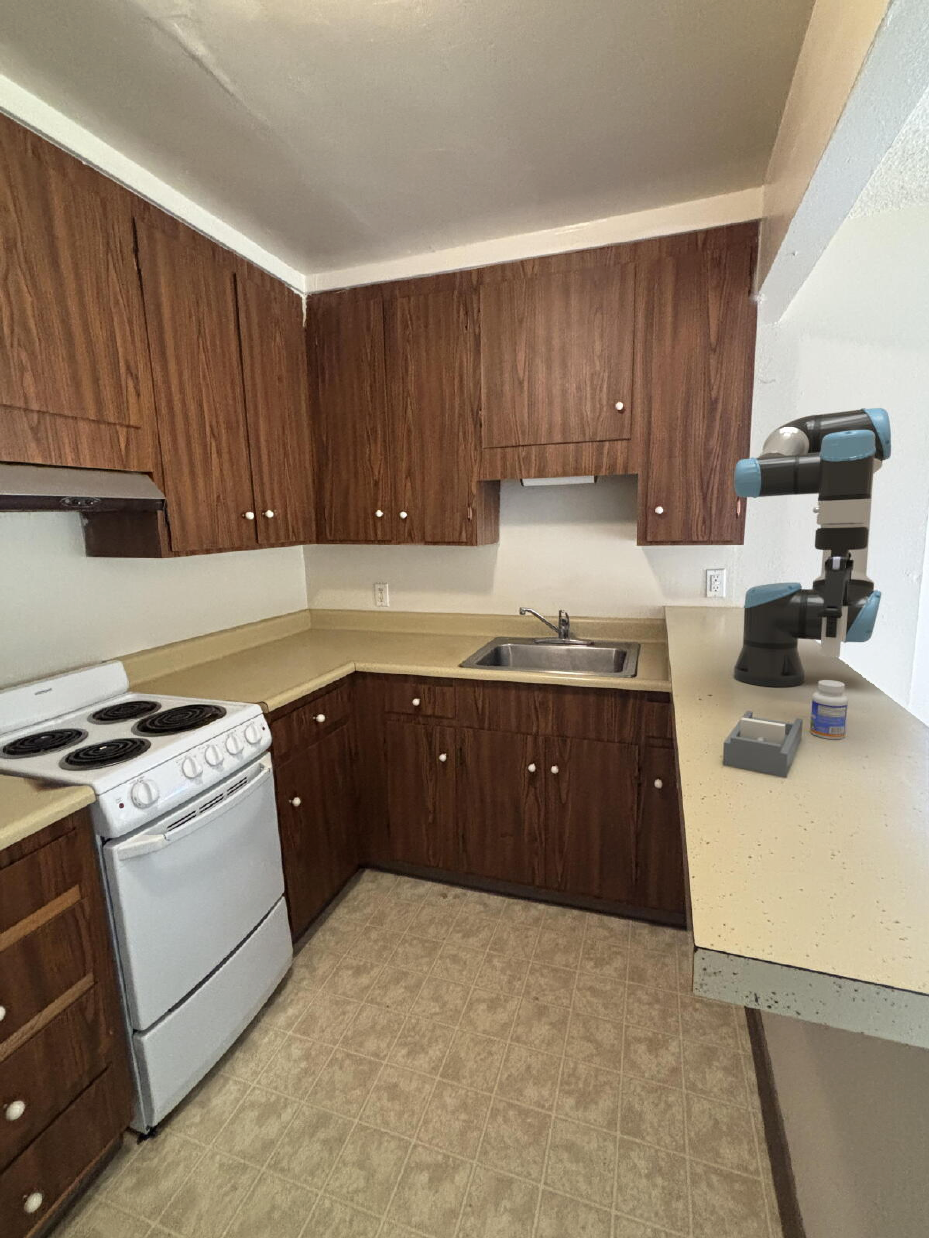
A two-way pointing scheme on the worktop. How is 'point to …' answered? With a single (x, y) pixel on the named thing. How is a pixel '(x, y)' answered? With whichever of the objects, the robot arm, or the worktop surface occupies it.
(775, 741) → the pusher
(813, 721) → the pill bottle
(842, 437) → the robot arm
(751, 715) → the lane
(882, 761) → the worktop surface
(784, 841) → the worktop surface
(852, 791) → the worktop surface
